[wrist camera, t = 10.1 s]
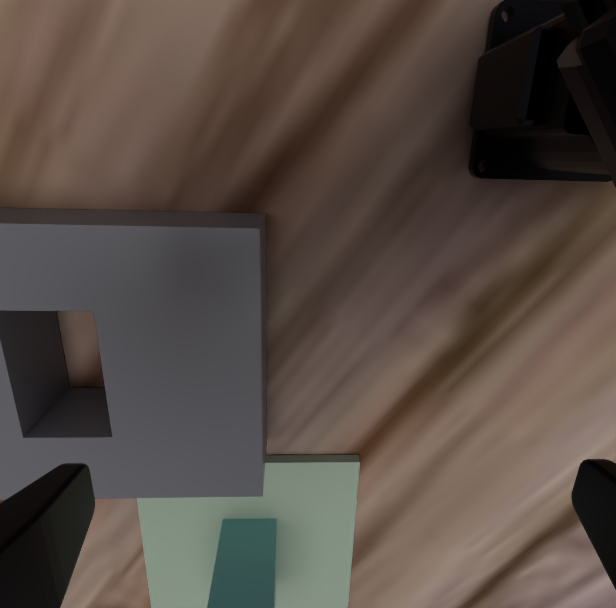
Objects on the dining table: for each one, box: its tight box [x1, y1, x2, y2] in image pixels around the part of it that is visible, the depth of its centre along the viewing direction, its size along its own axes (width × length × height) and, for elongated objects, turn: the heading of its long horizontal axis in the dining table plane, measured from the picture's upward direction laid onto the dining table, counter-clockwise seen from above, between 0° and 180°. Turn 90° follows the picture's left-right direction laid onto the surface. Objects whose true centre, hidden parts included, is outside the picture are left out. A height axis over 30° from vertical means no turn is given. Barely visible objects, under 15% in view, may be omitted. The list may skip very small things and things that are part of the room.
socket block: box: [0, 208, 267, 500], centre depth 19 cm, size 16×12×4 cm
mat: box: [137, 455, 360, 608], centre depth 25 cm, size 12×12×1 cm
